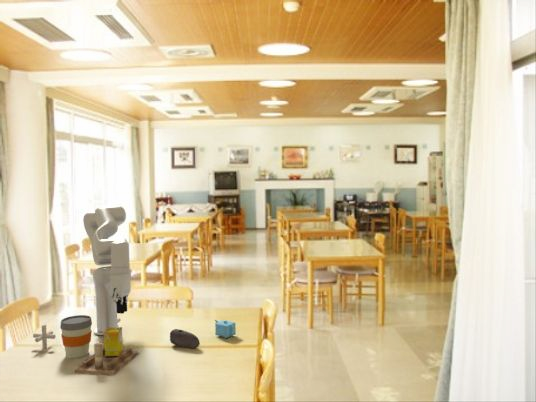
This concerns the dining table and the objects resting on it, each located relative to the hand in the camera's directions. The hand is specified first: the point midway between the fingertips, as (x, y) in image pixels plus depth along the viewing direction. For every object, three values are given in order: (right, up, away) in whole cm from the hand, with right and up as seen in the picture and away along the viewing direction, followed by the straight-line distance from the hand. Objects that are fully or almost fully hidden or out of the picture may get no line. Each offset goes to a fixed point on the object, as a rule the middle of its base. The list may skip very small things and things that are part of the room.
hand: (122, 312), depth 210 cm
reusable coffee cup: (-19, -18, -1) cm, 26 cm away
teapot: (+42, -16, +19) cm, 49 cm away
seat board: (-2, -18, -12) cm, 22 cm away
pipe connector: (-36, -17, +7) cm, 41 cm away
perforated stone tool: (+27, -17, +5) cm, 32 cm away
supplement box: (-1, -17, -7) cm, 18 cm away
